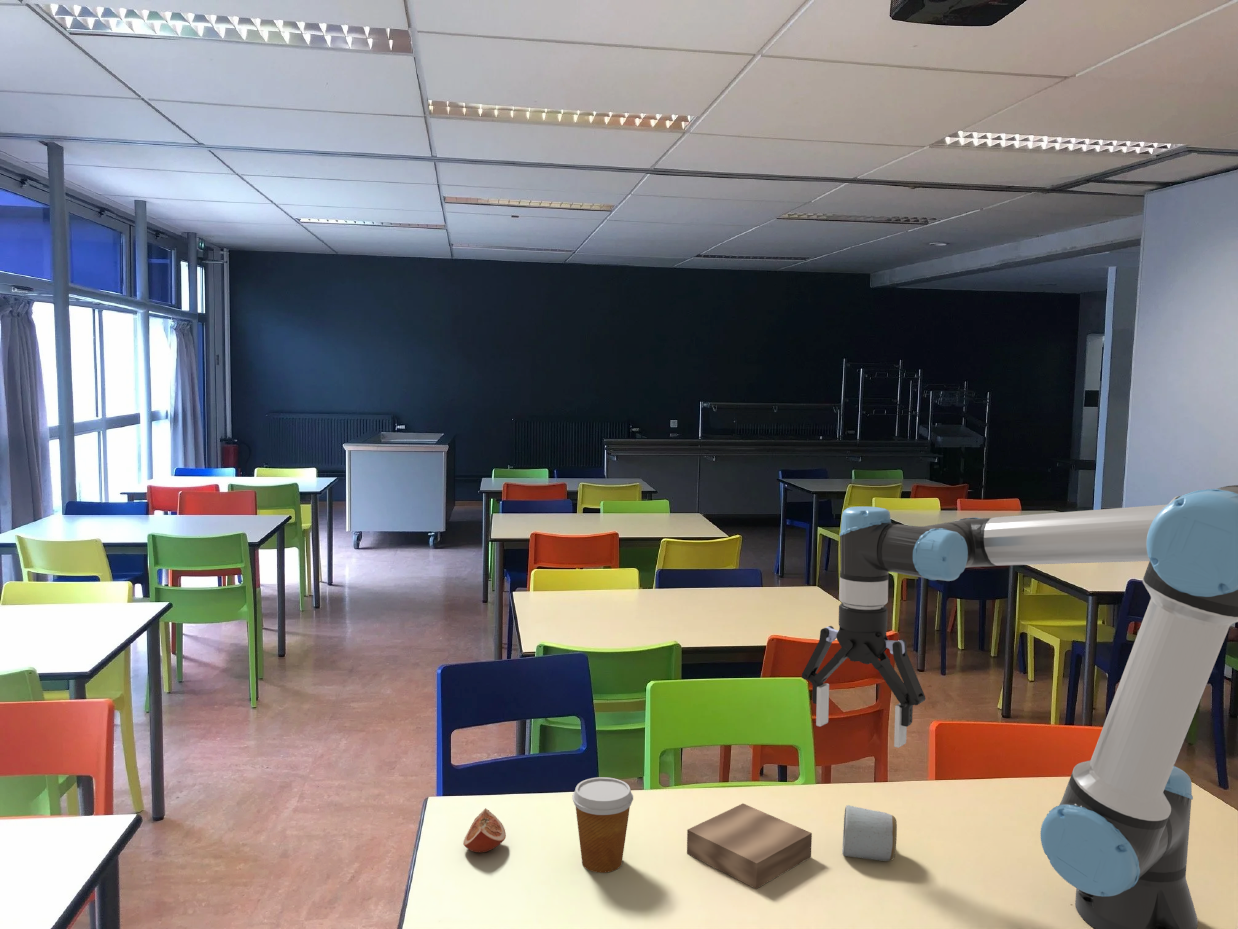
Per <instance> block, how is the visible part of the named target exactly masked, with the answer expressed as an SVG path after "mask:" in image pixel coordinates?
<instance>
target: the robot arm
mask: <svg viewBox="0 0 1238 929" xmlns="http://www.w3.org/2000/svg"><path fill="white" fill-rule="evenodd" d="M839 538H840V539H839V541H840V546H839V548H840V550H839V551H840V570H839V572H840V573H839V588H838V589H839V590H838V592H839V594H838V600H839V601H840V602H841V603H840V605H839V606H838V626H839V627H838V629H835V628H834V626H832V625H829V626H826V627H823V628H822V629H820V633H819V640H818V642H817V645H816V646H815V649H814V650H813V651H812V654H811V656H810V658H809V660H808V661H807V664H806V665H805V667H804V668H803V671H802V673H801V678H802V679H803V680H804V681H805V680H807V681H809V682H810V683H811V685H812V692H811V694H812V699H811V701H812V703H813V704H815V705H816V709H815V710H816V711H815V712H816V713H815V714H816V718H815V722H816V723H815V725H816V726H817V727H822V726H825V725H826V724H828V723H829V711H830V710H829V704H830V702H829V701H830V699H829V698H830V684H829V683H825V682H827V679H828V678H829V677H830V676H831V675H832V674H833V673H834V672H835V671H836V670H837V669H838V668H839V667H840V666H841V665H842V664H843V663H844V662H845V660H847V659H849V661H850V662H854V663H855V662H859V663H861V664H865V665H870V664H871V665H872V666H873V668H874V669H875V670H877V671H878V672H879V674H880V676H881V677H882V678H883V680H884V682H885V683H886V684H887V686H888V687H889V689H890V691H891V692H892V694H893V696H895V698H896V699H897V701H898V703H897V704H896V705H895V708H894V737H893V742H894V744H893V747H894V748H901V747H902V746H904V745H905V744H907V729H908V727H909V726H911V725H912V723H913V711H914V708H913V707H914V706H918V705H920V704H921V703H924V702H925V701H926V695H925V693H924V691H923V688H922V685H921V683H920V681H919V678H918V676H917V673H916V671H915V669H914V666H913V664H912V662H911V660H910V657H909V655H908V646H907V641H906V640H905V639H903V638H901V639H899V640H890V639H889V638H888V635H887V631H888V612H889V610H888V607H887V606H886V604H887V603H889V601H888V599H889V575H890V574H889V573H896V574H901V575H905V576H906V575H907V576H912V577H918V578H923V579H928V580H930V581H937V580H938V581H946V582H950V581H951V582H952V581H955V580H957V579H958V578H959V577H960V575H961V574H962V573H963V572H964V571H965V569H966V568H974V567H977V568H978V567H980V568H981V567H996V566H998V567H999V566H1023V565H1025V566H1027V565H1059V564H1061V565H1062V564H1064V565H1065V564H1097V563H1098V564H1099V563H1101V564H1102V563H1131V562H1133V563H1135V562H1148V565H1147V567H1146V570H1145V573H1144V576H1143V578H1142V584H1143V585H1144V587H1145V589H1146V590H1147V593H1149V596H1150V599H1149V603H1148V605H1147V609H1146V611H1145V613H1144V616H1143V619H1142V621H1141V625H1140V628H1139V630H1138V632H1137V635H1136V637H1135V640H1134V643H1133V645H1132V648H1131V652H1130V654H1129V656H1128V659H1127V662H1126V665H1125V667H1124V670H1123V673H1122V675H1121V678H1120V680H1119V683H1118V686H1117V689H1116V691H1115V694H1114V696H1113V699H1112V702H1111V705H1110V708H1109V710H1108V714H1107V716H1106V719H1105V721H1104V723H1103V727H1102V729H1101V732H1100V734H1099V737H1098V740H1097V743H1096V745H1095V748H1094V749H1093V750H1094V751H1093V753H1092V756H1091V759H1090V760H1086V761H1082V762H1079V763H1077V764H1076V765H1075V766H1074V767H1073V770H1072V772H1071V775H1070V777H1069V779H1068V783H1067V785H1066V788H1065V790H1064V793H1063V795H1062V797H1061V798H1062V799H1061V801H1060V802H1059V804H1058V805H1057V806H1055V807H1053V808H1052V809H1051V810H1049V811H1048V813H1047V814H1046V816H1045V818H1044V819H1043V821H1042V824H1041V827H1040V842H1041V843H1040V844H1041V847H1042V850H1043V852H1044V854H1045V855H1046V857H1047V859H1048V861H1049V864H1050V866H1051V867H1052V869H1053V870H1055V872H1056V873H1057V874H1058V875H1059V876H1060V877H1061V878H1062V879H1063V880H1064V881H1065V882H1066V883H1068V884H1069V885H1071V886H1073V887H1074V888H1076V890H1075V900H1074V901H1075V903H1074V904H1075V909H1076V911H1077V913H1078V915H1079V916H1080V917H1081V918H1082V919H1083V920H1084V921H1085V922H1086V923H1087V924H1088V925H1089V926H1090V927H1092V928H1094V929H1198V925H1199V922H1198V921H1199V920H1198V915H1197V912H1196V908H1195V906H1194V905H1195V904H1194V902H1193V898H1192V895H1191V890H1190V887H1189V885H1188V884H1189V883H1188V882H1187V876H1186V875H1187V865H1188V850H1189V839H1190V838H1189V835H1190V824H1191V822H1190V821H1191V810H1192V800H1193V799H1194V796H1193V795H1192V790H1193V789H1192V784H1193V783H1192V780H1191V777H1190V776H1189V775H1188V773H1186V772H1185V771H1184V770H1183V769H1181V768H1179V767H1177V766H1175V764H1176V762H1177V759H1178V757H1179V754H1180V751H1181V750H1182V746H1183V744H1184V741H1185V739H1186V737H1187V733H1188V731H1189V729H1190V726H1191V724H1192V721H1193V718H1194V717H1195V714H1196V711H1197V709H1198V707H1199V704H1200V701H1201V698H1202V696H1203V694H1204V691H1205V688H1206V687H1207V684H1208V681H1209V678H1210V677H1211V674H1212V671H1213V668H1214V667H1215V664H1216V661H1217V659H1218V656H1219V654H1220V651H1221V649H1222V646H1223V643H1224V642H1225V639H1226V636H1227V634H1228V632H1229V629H1230V627H1231V626H1232V625H1234V624H1235V623H1238V484H1235V485H1226V486H1222V487H1219V488H1207V489H1199V490H1194V491H1191V492H1189V493H1186V494H1183V495H1178V496H1174V497H1173V498H1172V499H1171V500H1170V502H1168V504H1158V505H1155V504H1154V505H1145V506H1144V505H1142V506H1129V507H1117V508H1104V509H1103V508H1101V509H1089V510H1077V511H1075V510H1074V511H1064V512H1061V511H1060V512H1050V513H1047V512H1046V513H1035V514H1024V515H1011V516H1010V515H1009V516H1007V515H1006V516H997V517H996V516H995V517H966V518H960V519H959V520H955V521H949V522H942V523H935V524H930V525H925V526H924V525H923V526H921V525H920V526H918V525H907V524H898V523H894V522H892V519H891V513H890V511H889V509H886V508H884V507H877V506H850V507H847V508H845V509H844V510H843V511H842V515H841V524H840V533H839ZM835 640H837V642H838V645H839V646H840V647H841V648H840V649H838V651H836V652H835V654H834V655H833V657H831V659H830V660H829V661H828V662H827V663H826V664H825V665H824V666H823V667H822V669H820V670H819V668H820V666H821V665H822V663H823V661H824V658H825V657H826V655H827V653H828V652H829V649H830V647H831V645H832V643H834V642H835ZM887 649H889V653H890V654H891V655H892V656H893V661H894V662H895V665H896V667H897V670H898V672H897V671H896V670H895V668H894V667H893V665H892V663H891V660H890V657H888V655H887V653H886V652H885V651H886V650H887ZM818 670H819V671H818ZM898 673H899V674H898ZM899 675H900V676H899Z"/></svg>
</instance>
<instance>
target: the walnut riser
mask: <svg viewBox="0 0 1238 929" xmlns="http://www.w3.org/2000/svg"><path fill="white" fill-rule="evenodd" d="M686 831H687V832H686V835H687V836H686V854H687V855H689V856H691V857H693V858H695V860H696V859H697V860H699V861H700V862H702V863H704V864H706V865H708V866H710V867H712V868H714V869H716V870H718V871H720V872H722V873H724V874H726V875H728V876H730V877H731V878H734V879H736V880H738V881H740V882H742V883H744V884H746V885H747V886H749V887H751V888H753V889H755V890H757V889H759V888H760V887H762V886H764V885H765V884H767V883H769V882H770V881H772V880H774V879H777V877H778V878H779V876H781V875H784V874H785V873H786V872H788V871H790V870H792V869H793V868H794V867H797V866H798V865H800V864H802V863H804V862H805V861H807V860H808V859H810V858H812V845H813V844H812V841H813V840H812V839H813V833H812V831H811V832H810V831H809V830H806V829H804V828H802V827H799V826H797V825H794V824H792V823H789V822H787V821H785V820H782V819H780V818H778V817H775V816H773V815H770V814H769V813H766V812H764V811H763V810H760V809H757V808H756V807H752V806H751V805H748V804H746V803H741V804H739V805H737V806H734V807H732V808H730V809H729V810H726V811H724V812H722V813H719V814H718V815H716V816H713V817H711V818H709V819H707V820H705V821H702V822H701V823H698V824H696V825H694V826H692V827H690V828H687V830H686Z"/></svg>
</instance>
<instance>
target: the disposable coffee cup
mask: <svg viewBox="0 0 1238 929" xmlns="http://www.w3.org/2000/svg"><path fill="white" fill-rule="evenodd" d="M571 798H572V802H573V803H574V806H575V813H576V821H577V829H578V831H577V832H578V837H579V838H578V839H579V840H578V841H579V847H580V857H581V864H582V866H583V867H584V868H585V869H586V870H587V871H590V872H594V873H600V874H601V873H603V874H604V873H610V872H611V873H612V872H614V871H616V870H619V869H620V868H621V866H622V864H623V859H624V858H623V857H624V852H625V842H626V836H627V830H628V829H627V828H628V823H629V816H630V808H631V805H632V803H633V801H634V794H633V792H632V791H631V787H630V785H629V784H628V783H627V782H625V781H623V780H620V779H617V778H613V777H606V776H605V777H604V776H603V777H601V776H599V777H598V776H597V777H591V778H587V779H585V780H582V781H580V782H579V783H577V785H576V787H575V790H574V792H573V793H572V797H571Z"/></svg>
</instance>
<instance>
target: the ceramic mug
mask: <svg viewBox="0 0 1238 929" xmlns="http://www.w3.org/2000/svg"><path fill="white" fill-rule="evenodd" d="M897 827H898V824H897V818H896V817H895V816H894V815H893V814H890V813H887V812H884V811H879V810H872V809H867V808H863V807H859V806H854V805H849V804H848V805H845V809H844V815H843V830H842V832H843V833H842V849H841V850H842V854H841V855H843V857H844V856H845V857H852V858H858V859H865V860H873V861H874V860H875V861H882V862H888V861H893V860H894V858H895V857H896V852H897V850H896V849H897V841H898V840H897V837H898V836H897V835H898V834H897V833H898V828H897Z"/></svg>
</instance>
